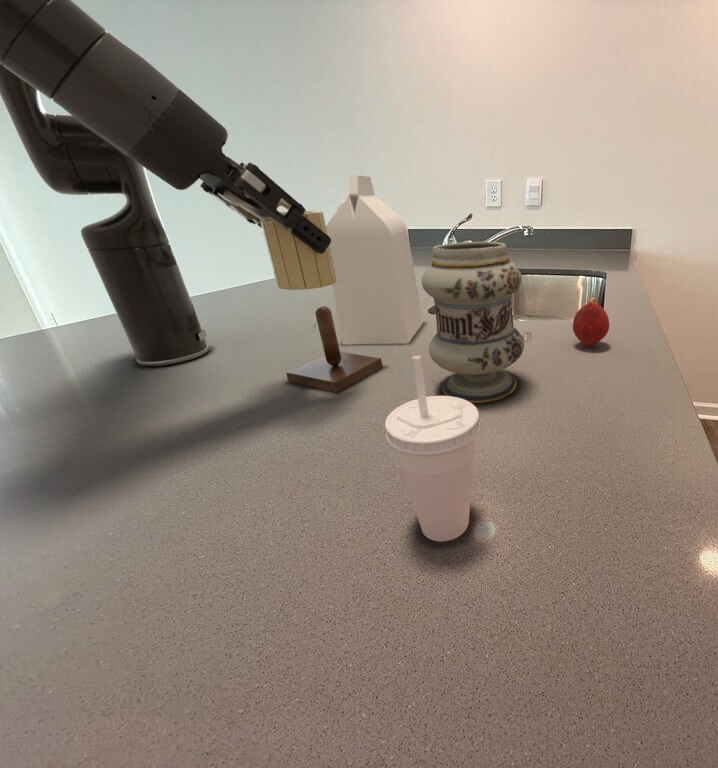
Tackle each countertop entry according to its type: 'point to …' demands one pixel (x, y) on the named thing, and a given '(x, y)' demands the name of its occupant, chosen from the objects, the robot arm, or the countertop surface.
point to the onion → (591, 323)
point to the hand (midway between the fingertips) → (312, 244)
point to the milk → (372, 270)
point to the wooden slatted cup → (298, 257)
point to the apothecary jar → (474, 318)
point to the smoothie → (436, 457)
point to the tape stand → (333, 361)
